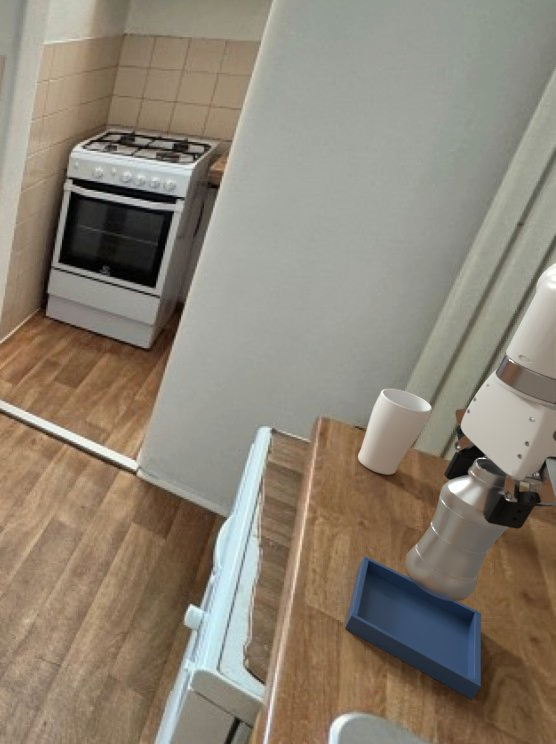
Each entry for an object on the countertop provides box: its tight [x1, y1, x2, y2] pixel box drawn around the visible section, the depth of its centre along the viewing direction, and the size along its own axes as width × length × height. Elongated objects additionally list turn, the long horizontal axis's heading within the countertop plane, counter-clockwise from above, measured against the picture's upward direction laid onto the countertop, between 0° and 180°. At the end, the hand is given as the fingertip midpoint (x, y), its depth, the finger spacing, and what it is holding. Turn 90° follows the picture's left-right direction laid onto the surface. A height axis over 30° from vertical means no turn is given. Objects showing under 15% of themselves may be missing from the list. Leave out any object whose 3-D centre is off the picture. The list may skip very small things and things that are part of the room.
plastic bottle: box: [404, 457, 509, 602], centre depth 76 cm, size 6×7×20 cm
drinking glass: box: [357, 388, 433, 476], centre depth 108 cm, size 7×7×15 cm
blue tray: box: [344, 555, 482, 700], centre depth 82 cm, size 14×12×3 cm
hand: (480, 500), depth 74 cm, fingers closed on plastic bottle, 6 cm apart
